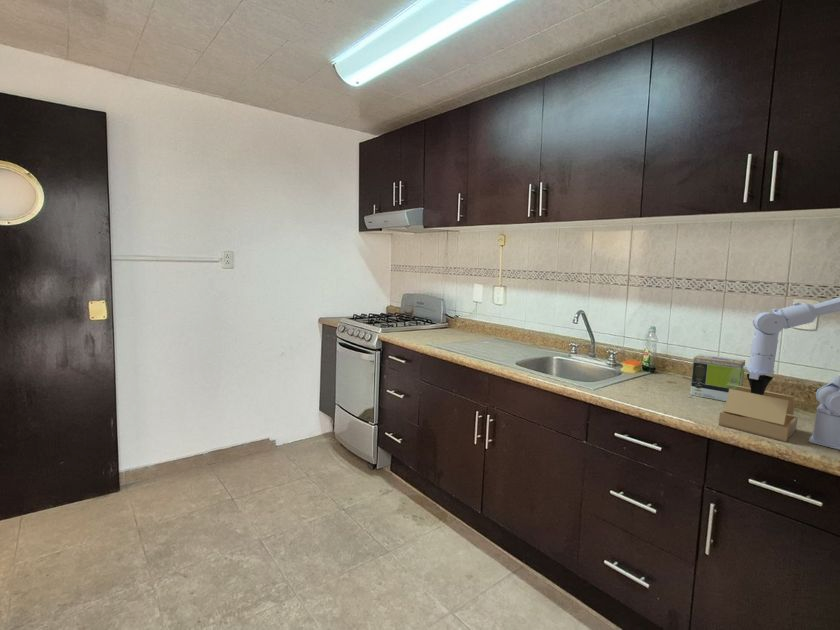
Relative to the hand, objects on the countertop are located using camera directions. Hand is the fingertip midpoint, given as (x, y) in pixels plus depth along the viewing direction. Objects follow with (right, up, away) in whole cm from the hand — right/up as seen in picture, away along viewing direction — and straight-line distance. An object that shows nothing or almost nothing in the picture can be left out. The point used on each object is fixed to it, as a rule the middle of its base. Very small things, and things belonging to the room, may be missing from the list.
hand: (756, 399), depth 128 cm
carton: (+3, -9, +4) cm, 11 cm away
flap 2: (+7, -2, +6) cm, 10 cm away
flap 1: (-1, -2, -1) cm, 2 cm away
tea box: (+12, -6, +35) cm, 38 cm away
